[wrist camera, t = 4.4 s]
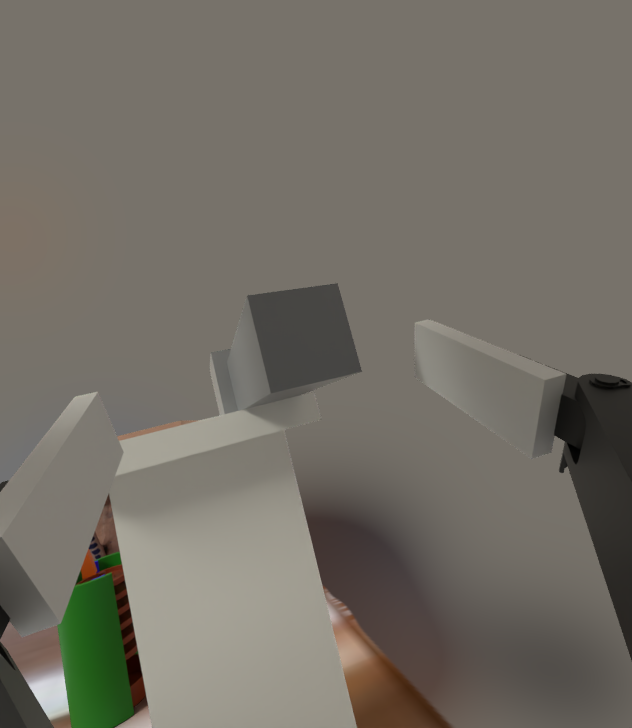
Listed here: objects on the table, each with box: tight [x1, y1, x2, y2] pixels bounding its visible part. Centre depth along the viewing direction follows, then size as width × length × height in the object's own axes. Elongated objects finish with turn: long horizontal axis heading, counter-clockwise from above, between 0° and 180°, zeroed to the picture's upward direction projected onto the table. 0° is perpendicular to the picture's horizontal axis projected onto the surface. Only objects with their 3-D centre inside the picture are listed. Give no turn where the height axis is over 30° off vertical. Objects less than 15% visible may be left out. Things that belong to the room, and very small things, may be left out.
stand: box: [109, 392, 357, 728], centre depth 26 cm, size 17×12×30 cm
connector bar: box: [210, 284, 362, 415], centre depth 24 cm, size 6×22×5 cm, turn 18°
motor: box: [57, 548, 146, 728], centre depth 43 cm, size 10×9×20 cm
